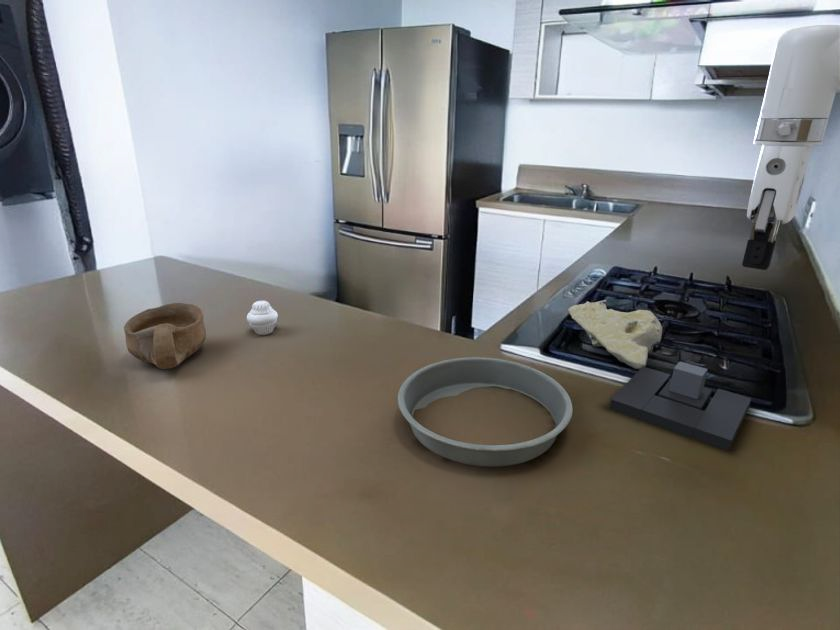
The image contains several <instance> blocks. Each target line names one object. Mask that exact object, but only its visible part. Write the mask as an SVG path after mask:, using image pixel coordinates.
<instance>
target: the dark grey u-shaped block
mask: <svg viewBox="0 0 840 630" xmlns="http://www.w3.org/2000/svg"><path fill="white" fill-rule="evenodd" d="M671 377H672V376H671V374H670V373H667V372H663V371H659V370H657V369H653V368H650V367H646V366H645V367H642V368H641V369H639V370H638V371H637V372H636V373H635V374H634V375H633V376H632V377H631V378H630V379H629V380H628V381H627V382H626V383H625V384H624V386H622V387H621V389H619V390H618V391H617V393H616V394H615V395H614V396H613V397H612V398H611V399H610V403H609V404H610V405H609V409H610V410H613V411H615V412H618V413H621V414H623V415H626V416H629V417H632V418H635V419H637V420H641V421H643V422H646V423H649V424H651V425H655V426H658V427H660V428H663V429H666V430H668V431H671V432H674V433H677V434H680V435H682V436H685V437H688V438H691V439H694V440H697V441H699V442H702V443H705V444H708V445H710V446H713V447H716V448H719V449H722V450H725V451H727V452H729V451H730V450H731V447H732V445H733V443H734V441H735V439H736V437H737V434H738V432H739V430H740V428H741V426H742V424H743V421H744V420H745V417H746V415H747V413H748V411H749V409H750V406H751V402H752V398H751V397H749V396H746V395H742V394H738V393H735V392H732V391H729V390H724V389H721V388H718V389H717V390H716V391H715V393H714V394H713V397H711V399H710V401H709V402H708V404H707V406H706V407H705V409H704V410H703V411H702V410H699V409H696V408H693V407H690V406H687V405H684V404H681V403H677V402H674V401H671V400H668V399H665V398H662V397H659V396H658V394H659V393H660V392H661V390H662V389H663V388H664V387H665V385H666V384H667V383H668V382H669V381H670V379H671Z"/></svg>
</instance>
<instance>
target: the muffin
mask: <svg viewBox="0 0 840 630" xmlns="http://www.w3.org/2000/svg"><path fill="white" fill-rule="evenodd" d="M278 317H279V314H278V312H277V311H276V310H275V309H274V308H273V307H272V306H271V303H270V302H269V301H267V300H257V301H255V302H253V304H252V305H251V309H250V311H249V312H248V313H247V315H246V321H247V323H248V324H249V327H251V329H252V330H253V331H254V332H255V334H256V335H259V336H266V335H267V336H268V335H270V334H272V333H273V332H274V328H275V327H276V325H277V321H278Z"/></svg>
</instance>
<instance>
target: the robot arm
mask: <svg viewBox="0 0 840 630" xmlns="http://www.w3.org/2000/svg"><path fill="white" fill-rule="evenodd" d="M773 51H774V52H773V56H772V60H771V65H770V69H769V74H768V78H767V82H766V87H765V92H764V96H763V100H762V105H761V109H760V113H759V118H758V120H757V121H758V122H757V126H756V129H755V135H754V139H753V145H756V146H757V145H758V146H761V150H760V153H759V158H758V160H757V165H756V169H755V174H754V178H753V182H752V185H751V191H750V196H749V199H748V205H747V209H746V210H747V211H746V218H747V219H748V220H749V221H752V224H751V229H750V234H749V238H748V239H747V242H746V248H745V250H744V254H743V259H742V262H741V265H742V267H743V268H747V269H748V268H749V269H755V270H762V271H767V270H768V269H769V268H770V266H771V263H772V259H773V255H774V251H775V247H776V243H777V240H776V238H777V235H778V231H779V227H780V224H782V225H785V224H788V223H789V222H791V221H792V219H793V218H794V217H795V216H796V215H797V210H798V207H799V201H800V197H801V194H802V190H803V186H804V182H805V177H806V174H807V170H808V165H809V162H810V161H809V160H810V155H811V149H812V147H822V144H823V140H824V137H825V134H826V130H827V126H828V122H829V117H830V115H831V112H832V109H833V108H832V107H833V105H834V100H835V98H836V94H839V93H840V25H839V24H818V25H817V24H816V25H805V26H800V27H796V28H795V27H794V28H792V29H789V30H786V31H785V32H783V33H782V34H781V35H780V36H779V38H778V40H777V42H776V44H775V47H774V50H773Z"/></svg>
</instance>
